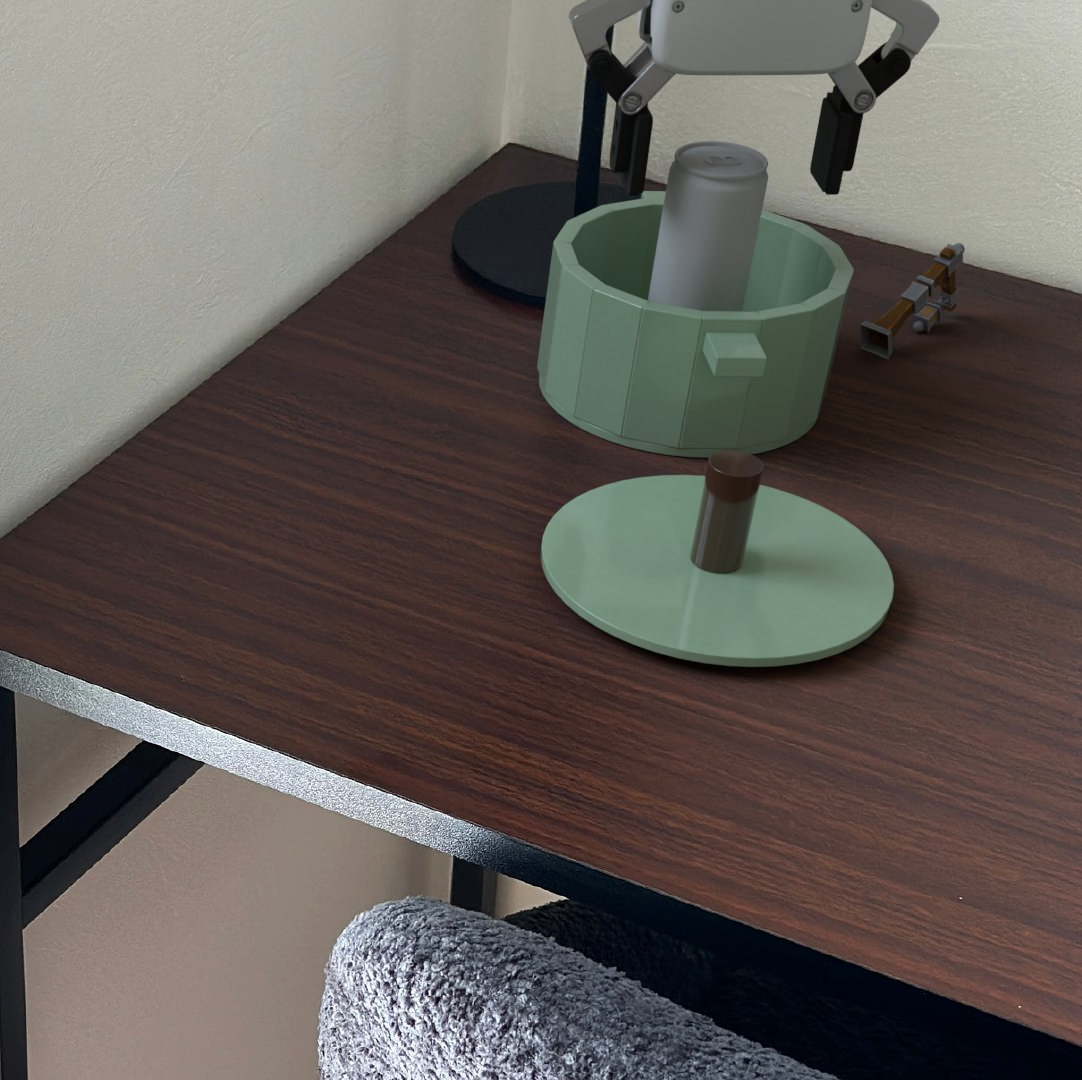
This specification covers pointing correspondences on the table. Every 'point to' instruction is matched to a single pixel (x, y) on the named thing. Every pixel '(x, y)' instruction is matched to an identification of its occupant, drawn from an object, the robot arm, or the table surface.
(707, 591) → the lid
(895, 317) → the toy blunderbuss gun
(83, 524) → the table surface
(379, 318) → the table surface
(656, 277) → the beverage can
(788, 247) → the pot
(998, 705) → the table surface
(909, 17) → the robot arm
